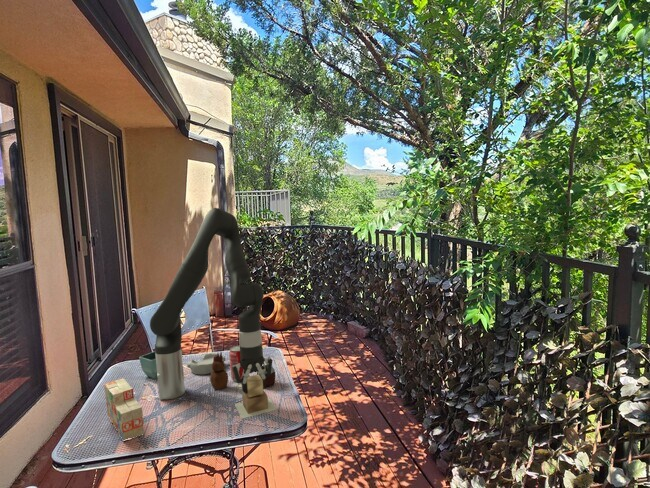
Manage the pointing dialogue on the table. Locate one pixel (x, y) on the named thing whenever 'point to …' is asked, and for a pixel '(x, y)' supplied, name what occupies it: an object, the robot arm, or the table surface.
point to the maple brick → (254, 385)
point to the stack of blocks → (124, 409)
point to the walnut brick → (255, 402)
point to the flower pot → (149, 364)
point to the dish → (203, 364)
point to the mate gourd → (270, 379)
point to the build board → (244, 413)
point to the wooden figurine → (218, 373)
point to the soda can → (235, 361)
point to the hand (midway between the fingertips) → (254, 390)
